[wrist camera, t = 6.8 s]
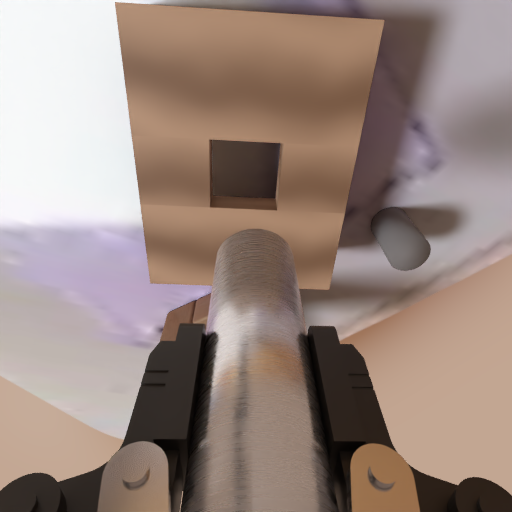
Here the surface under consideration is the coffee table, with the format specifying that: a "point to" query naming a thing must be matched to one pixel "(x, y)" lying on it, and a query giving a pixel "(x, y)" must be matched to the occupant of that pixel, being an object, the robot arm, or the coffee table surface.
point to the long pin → (257, 391)
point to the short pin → (400, 239)
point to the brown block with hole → (243, 128)
